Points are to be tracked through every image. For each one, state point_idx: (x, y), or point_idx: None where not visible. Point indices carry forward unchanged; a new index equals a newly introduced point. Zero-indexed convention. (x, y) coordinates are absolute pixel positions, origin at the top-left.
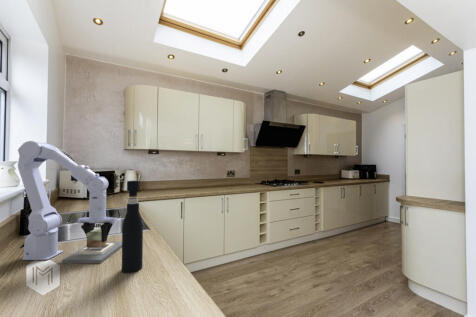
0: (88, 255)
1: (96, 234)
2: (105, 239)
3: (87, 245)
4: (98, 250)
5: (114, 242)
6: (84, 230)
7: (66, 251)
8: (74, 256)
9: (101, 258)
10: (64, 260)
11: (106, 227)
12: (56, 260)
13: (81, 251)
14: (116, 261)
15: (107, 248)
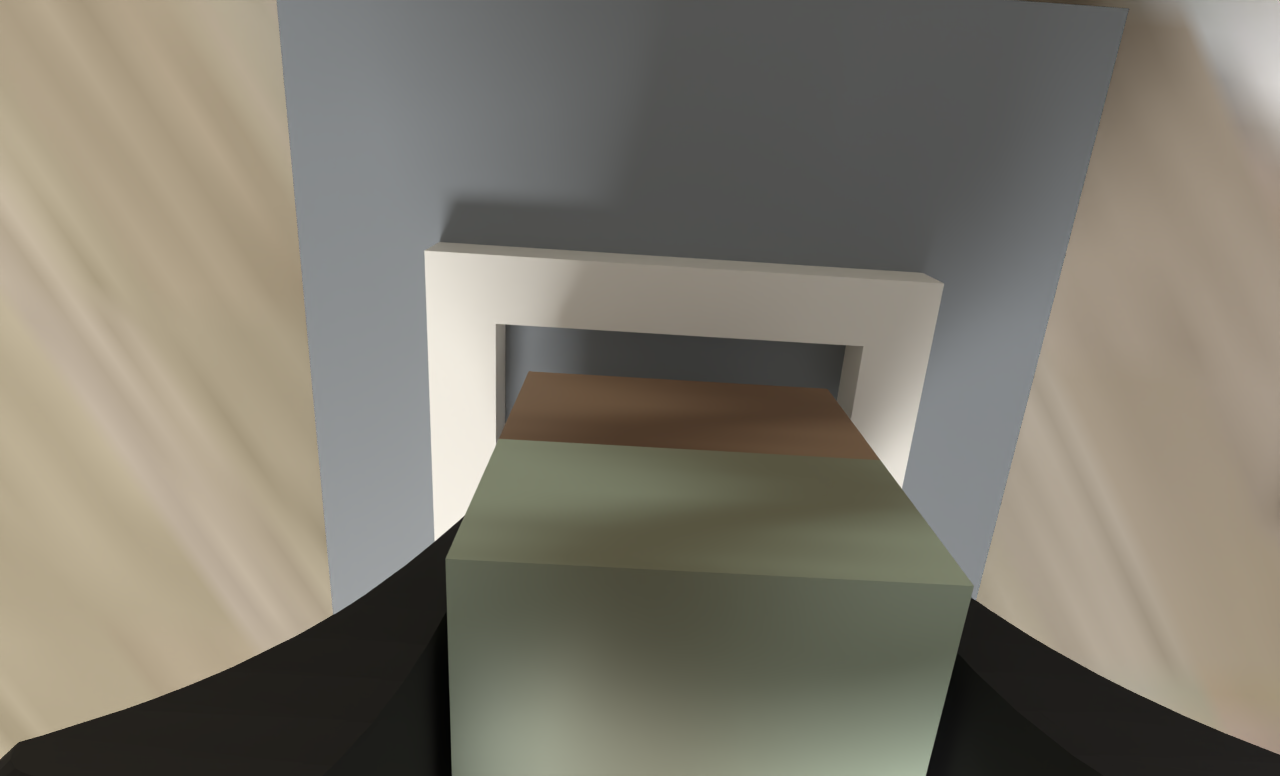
0: (684, 205)
1: (578, 533)
2: None
3: (820, 407)
4: None
5: None
6: (1149, 716)
7: (1230, 536)
8: (948, 173)
9: (311, 21)
10: (1068, 7)
11: (11, 764)
12: (1245, 159)
13: (882, 297)
14: (49, 33)
15: (435, 450)
